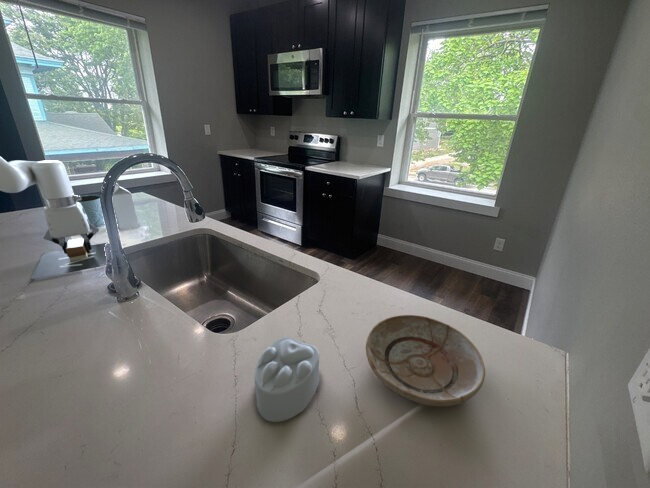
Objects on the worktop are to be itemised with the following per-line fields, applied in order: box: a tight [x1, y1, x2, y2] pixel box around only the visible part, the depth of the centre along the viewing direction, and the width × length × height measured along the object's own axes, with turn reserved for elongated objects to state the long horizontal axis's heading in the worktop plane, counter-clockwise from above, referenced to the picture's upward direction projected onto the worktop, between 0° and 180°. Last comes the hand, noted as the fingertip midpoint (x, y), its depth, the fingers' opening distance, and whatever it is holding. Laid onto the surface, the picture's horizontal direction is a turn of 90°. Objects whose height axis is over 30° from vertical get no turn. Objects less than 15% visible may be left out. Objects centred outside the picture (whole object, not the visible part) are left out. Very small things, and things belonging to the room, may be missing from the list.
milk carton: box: [113, 182, 140, 231], centre depth 124 cm, size 7×7×19 cm
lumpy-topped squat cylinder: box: [254, 336, 320, 423], centre depth 55 cm, size 10×13×9 cm
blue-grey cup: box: [77, 194, 106, 228], centre depth 126 cm, size 10×10×12 cm
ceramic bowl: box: [365, 314, 486, 407], centre depth 62 cm, size 23×24×5 cm
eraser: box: [66, 237, 88, 261], centre depth 100 cm, size 8×4×4 cm, turn 32°
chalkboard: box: [30, 242, 107, 281], centre depth 100 cm, size 20×20×1 cm
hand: (79, 252), depth 101 cm, fingers closed on eraser, 4 cm apart
